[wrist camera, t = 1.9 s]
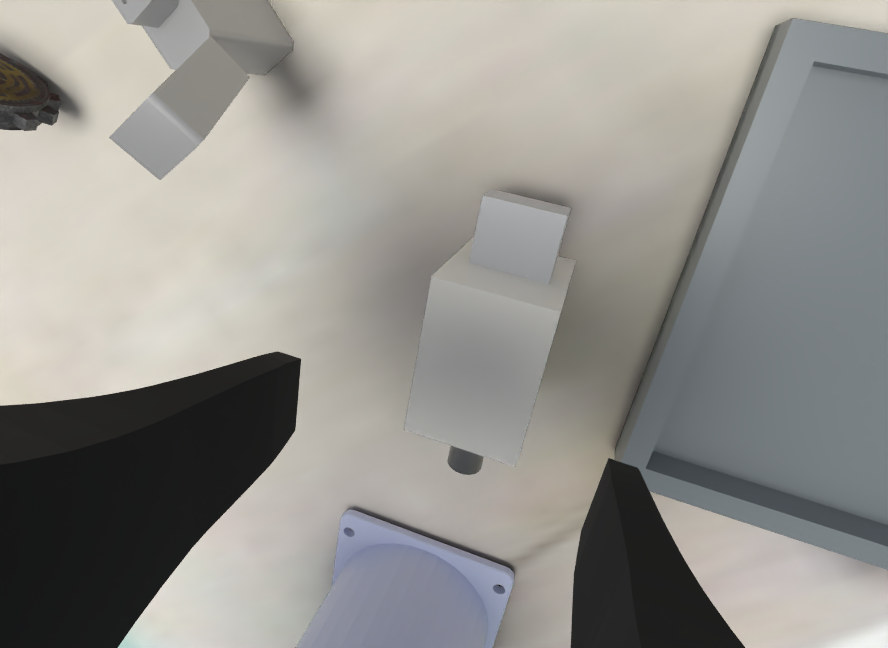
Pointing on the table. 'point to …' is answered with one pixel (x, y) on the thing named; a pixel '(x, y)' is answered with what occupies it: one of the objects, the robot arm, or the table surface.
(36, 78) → the gear
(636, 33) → the table surface
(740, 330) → the tray
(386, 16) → the table surface
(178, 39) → the lighter
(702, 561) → the table surface
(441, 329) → the plug
